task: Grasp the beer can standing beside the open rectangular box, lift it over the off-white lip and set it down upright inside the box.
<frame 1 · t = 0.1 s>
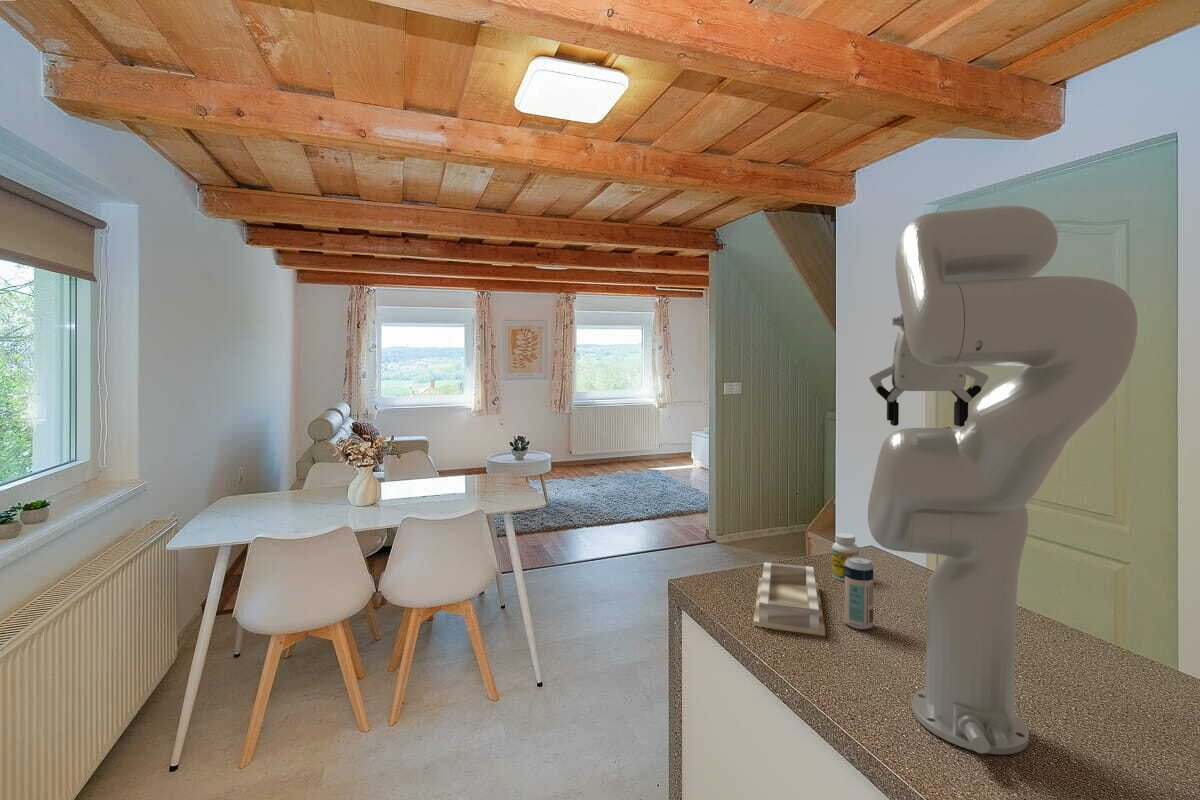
hand: (926, 425, 92), 37 cm above the counter, tool pointing down, fingers open, 9 cm apart
supplement bottle: (845, 578, 122), on the counter
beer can: (858, 626, 99), on the counter
open rectangular box: (788, 605, 108), on the counter
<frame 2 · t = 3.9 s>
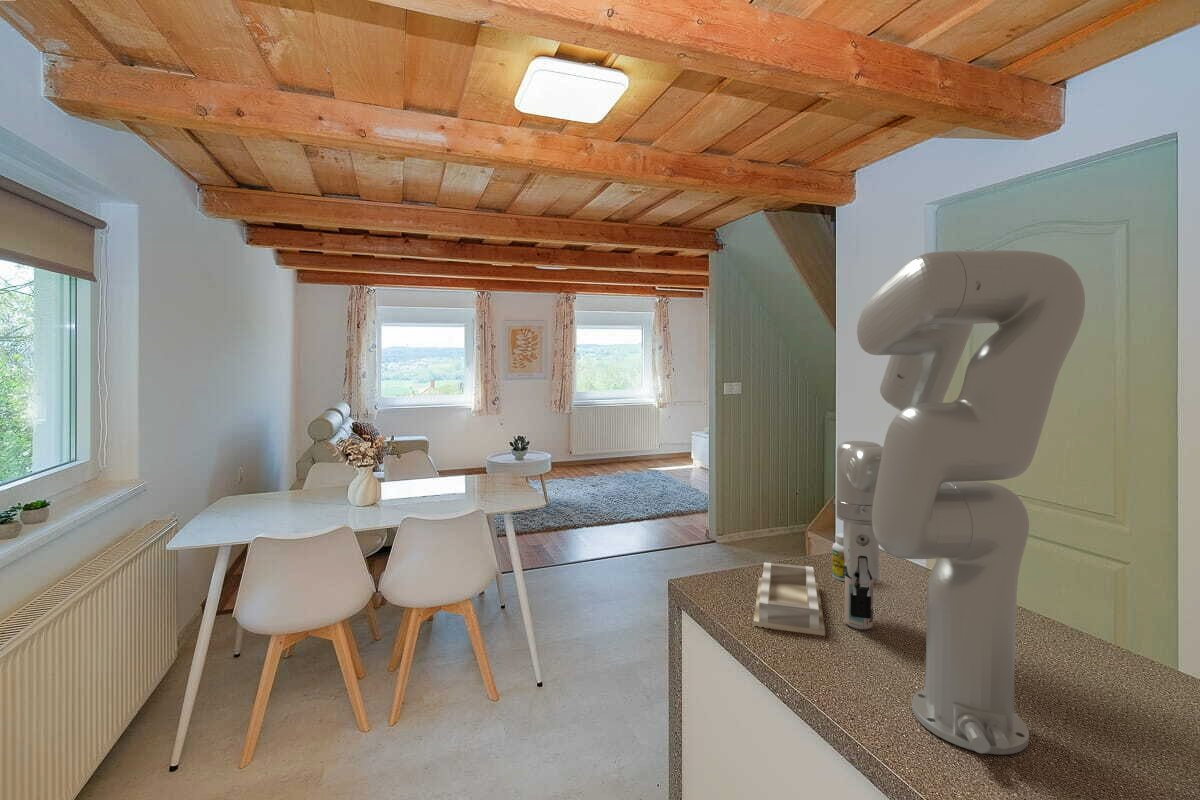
hand: (858, 609, 99), 3 cm above the counter, tool pointing down, fingers closed on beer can, 4 cm apart
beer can: (858, 626, 99), on the counter, touching gripper
everything else where it was.
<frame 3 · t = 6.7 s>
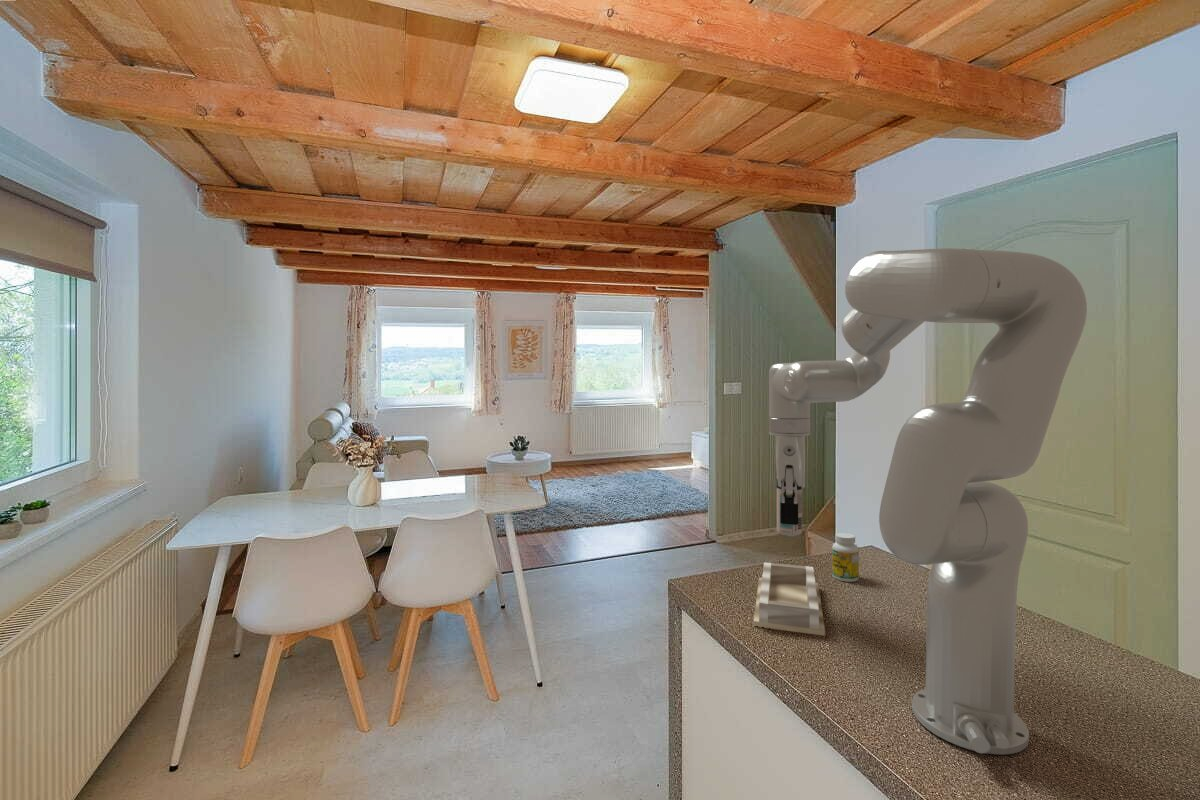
hand: (789, 519, 107), 17 cm above the counter, tool pointing down, fingers closed on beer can, 4 cm apart
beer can: (789, 534, 107), point 14 cm above the counter, touching gripper
everything else where it was.
when the fingers open (5 cm above the counter, at t = 9.7 s): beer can drops 1 cm, resting on open rectangular box.
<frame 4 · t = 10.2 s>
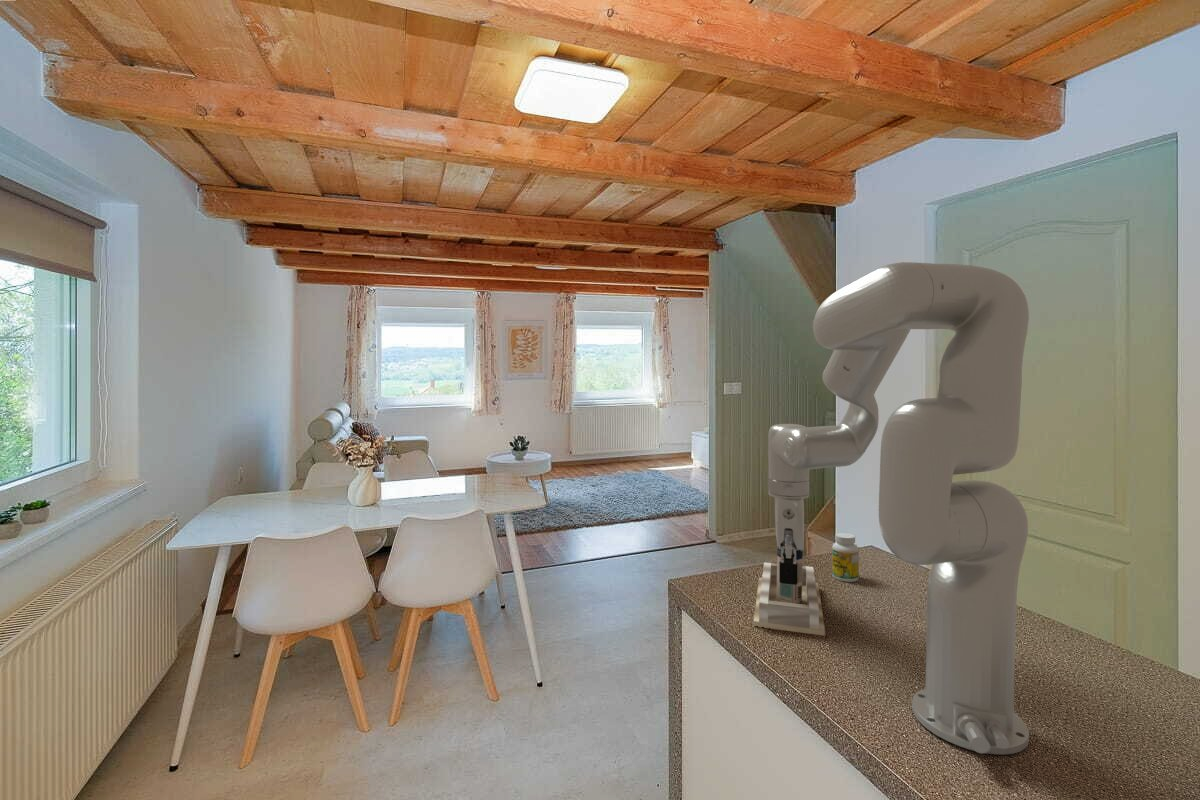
hand: (788, 574, 107), 6 cm above the counter, tool pointing down, fingers open, 9 cm apart
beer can: (789, 601, 108), point 1 cm above the counter, touching open rectangular box
everything else where it was.
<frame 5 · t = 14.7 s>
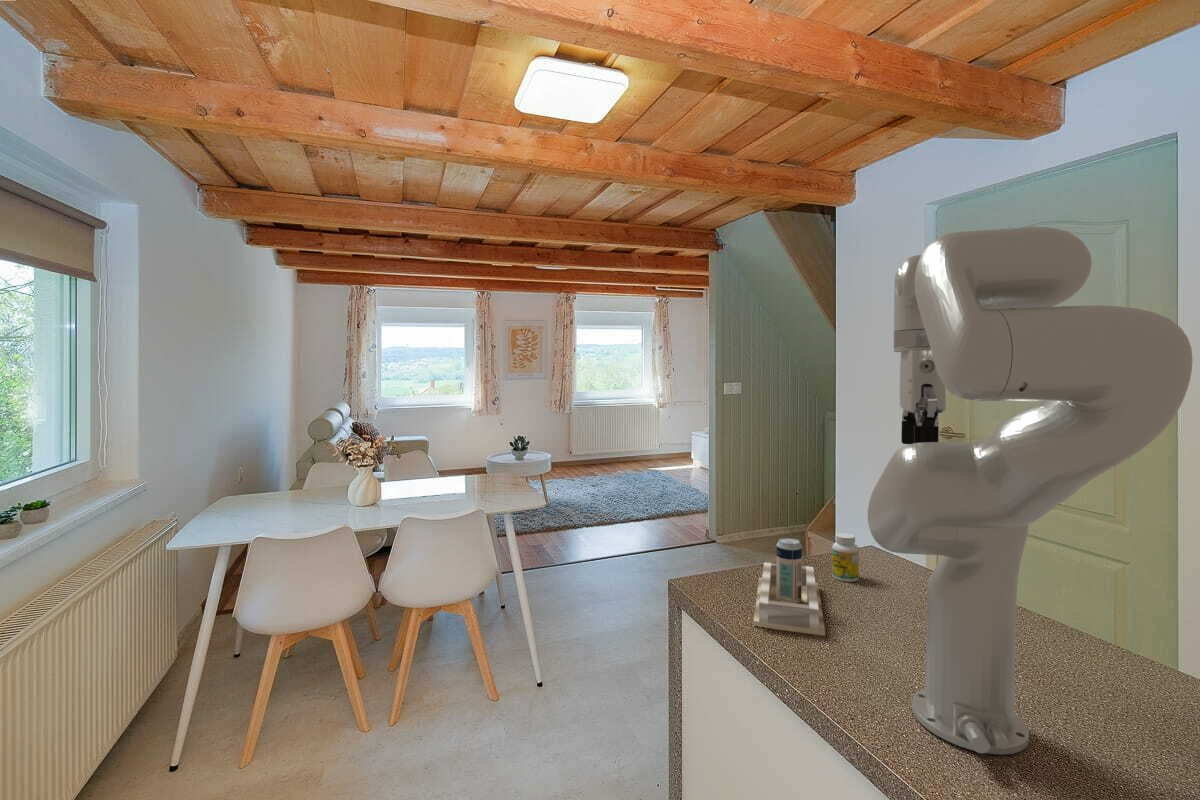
hand: (918, 447, 89), 33 cm above the counter, tool pointing down, fingers open, 9 cm apart
nothing on the counter moved.
at the end: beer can inside the target area on the open rectangular box (0.1 cm from its centre), point 0.8 cm above the open rectangular box's base; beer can tilted 0°; the gripper is holding nothing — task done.
